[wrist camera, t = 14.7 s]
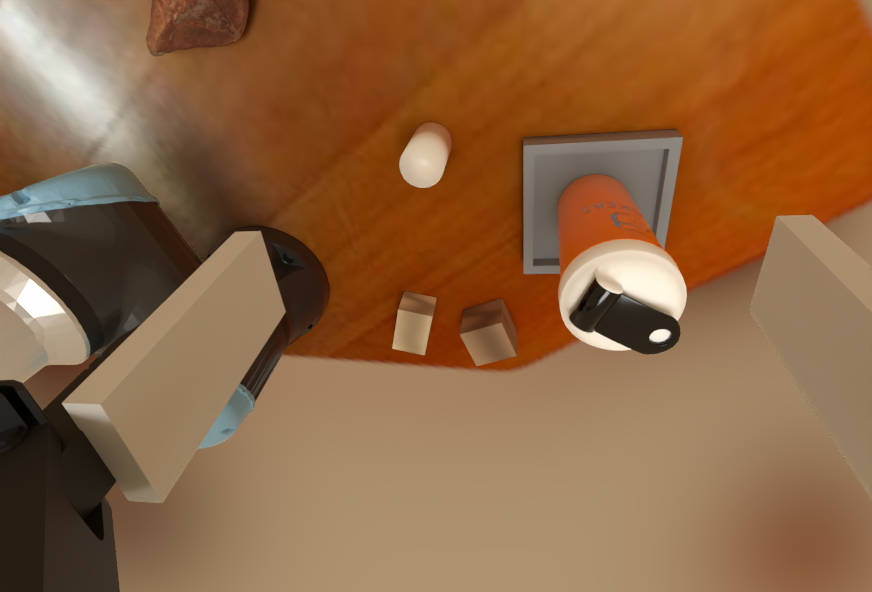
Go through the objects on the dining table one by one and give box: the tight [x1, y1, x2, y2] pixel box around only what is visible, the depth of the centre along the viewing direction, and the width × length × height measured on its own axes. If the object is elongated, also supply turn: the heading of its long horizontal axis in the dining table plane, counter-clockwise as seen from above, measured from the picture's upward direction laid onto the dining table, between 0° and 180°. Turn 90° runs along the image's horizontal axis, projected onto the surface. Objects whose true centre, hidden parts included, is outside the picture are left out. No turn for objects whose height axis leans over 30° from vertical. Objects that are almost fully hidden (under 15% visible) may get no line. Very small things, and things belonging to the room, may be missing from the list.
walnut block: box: [460, 298, 517, 366], centre depth 60 cm, size 5×5×5 cm
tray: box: [523, 129, 683, 274], centre depth 51 cm, size 14×14×2 cm
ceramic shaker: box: [399, 122, 452, 188], centre depth 48 cm, size 4×4×7 cm
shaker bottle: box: [557, 174, 687, 354], centre depth 43 cm, size 9×9×20 cm
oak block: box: [392, 291, 437, 355], centre depth 62 cm, size 4×6×4 cm, turn 170°
